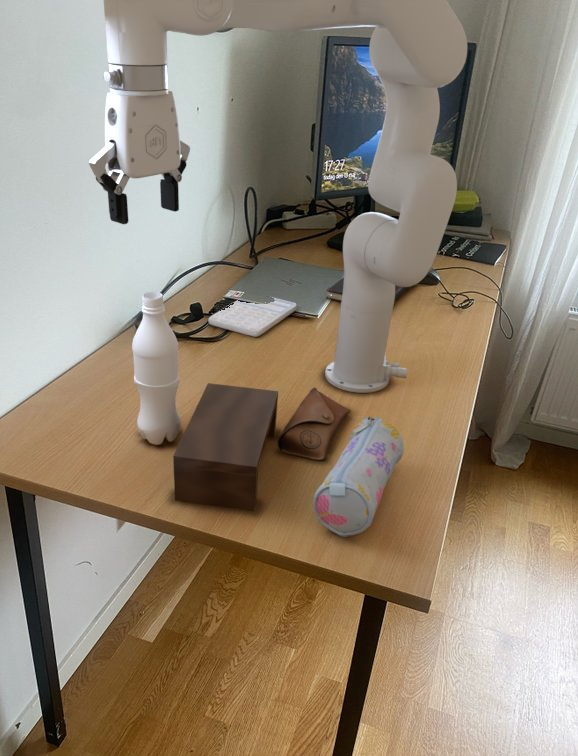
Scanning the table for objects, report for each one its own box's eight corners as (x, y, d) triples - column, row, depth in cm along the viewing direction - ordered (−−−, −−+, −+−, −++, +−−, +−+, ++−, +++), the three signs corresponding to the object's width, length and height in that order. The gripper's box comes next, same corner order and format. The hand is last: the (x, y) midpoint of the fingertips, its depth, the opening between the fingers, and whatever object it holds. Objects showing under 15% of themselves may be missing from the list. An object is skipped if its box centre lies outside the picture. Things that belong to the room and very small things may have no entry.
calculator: (206, 324, 151) (206, 316, 150) (250, 297, 165) (250, 290, 164) (257, 338, 145) (257, 330, 144) (298, 309, 159) (298, 302, 158)
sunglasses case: (326, 460, 107) (309, 425, 104) (289, 469, 110) (272, 436, 108) (352, 408, 121) (337, 376, 118) (318, 418, 124) (303, 387, 122)
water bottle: (147, 452, 108) (138, 307, 94) (132, 430, 113) (121, 290, 99) (187, 442, 111) (184, 300, 97) (171, 421, 116) (166, 284, 102)
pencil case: (349, 455, 109) (356, 405, 104) (401, 469, 106) (411, 419, 101) (306, 531, 93) (312, 477, 88) (366, 550, 90) (376, 495, 85)
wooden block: (275, 431, 114) (278, 391, 110) (254, 511, 96) (256, 466, 92) (207, 423, 116) (207, 383, 111) (174, 500, 98) (173, 456, 94)
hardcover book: (325, 298, 166) (326, 289, 164) (359, 272, 182) (360, 264, 181) (386, 312, 159) (388, 303, 158) (415, 284, 176) (417, 275, 175)
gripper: (104, 87, 78) (115, 233, 88) (205, 79, 89) (205, 210, 99) (65, 81, 82) (80, 221, 92) (167, 74, 93) (170, 200, 103)
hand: (145, 215), depth 95 cm, fingers open, 9 cm apart
